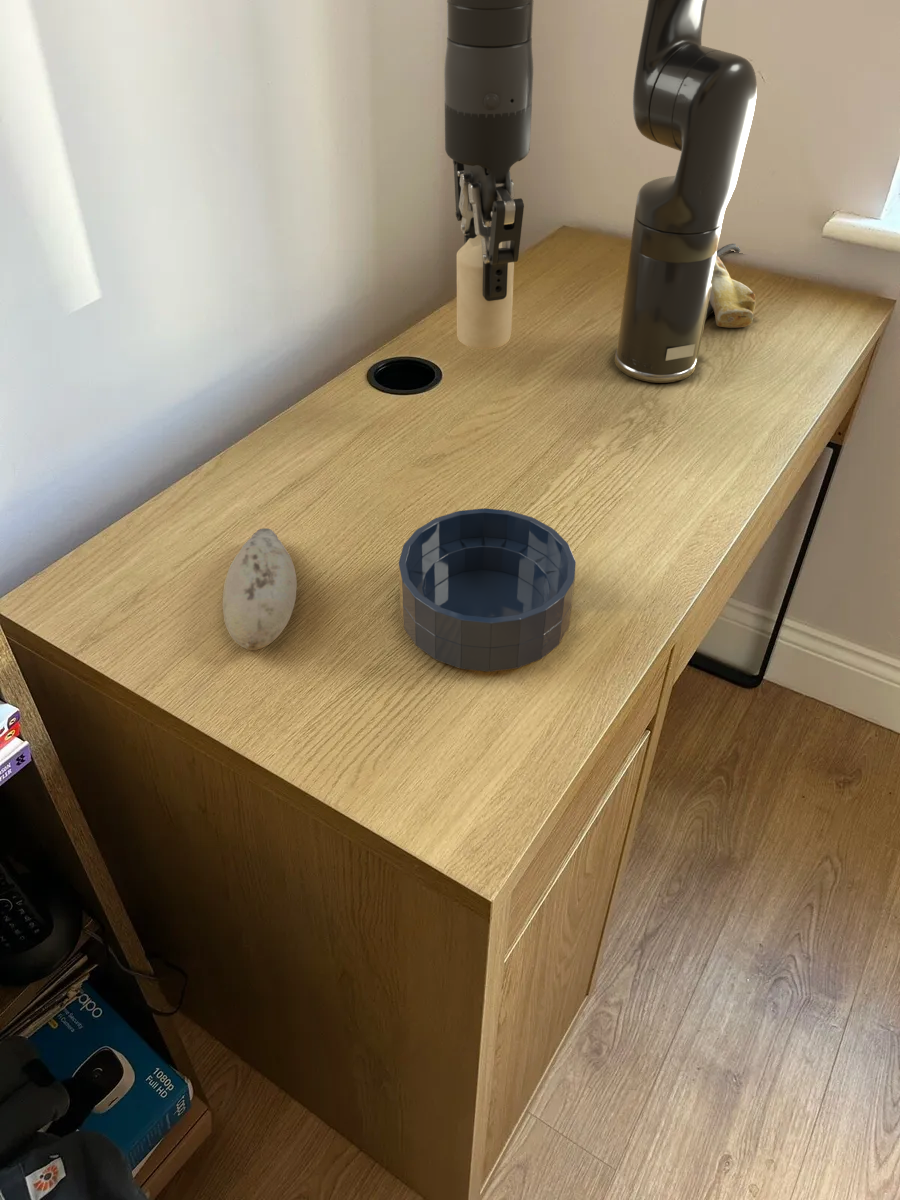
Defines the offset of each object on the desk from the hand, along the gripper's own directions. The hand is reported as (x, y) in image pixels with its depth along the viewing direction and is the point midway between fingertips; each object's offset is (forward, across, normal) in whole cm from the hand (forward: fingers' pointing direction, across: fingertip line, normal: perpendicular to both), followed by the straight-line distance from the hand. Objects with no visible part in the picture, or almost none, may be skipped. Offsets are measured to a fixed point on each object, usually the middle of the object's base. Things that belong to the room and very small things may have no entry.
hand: (484, 284), depth 94 cm
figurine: (+16, +19, -39) cm, 47 cm away
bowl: (+15, -29, +9) cm, 34 cm away
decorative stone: (+15, -22, +27) cm, 38 cm away
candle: (+6, 0, 0) cm, 6 cm away
